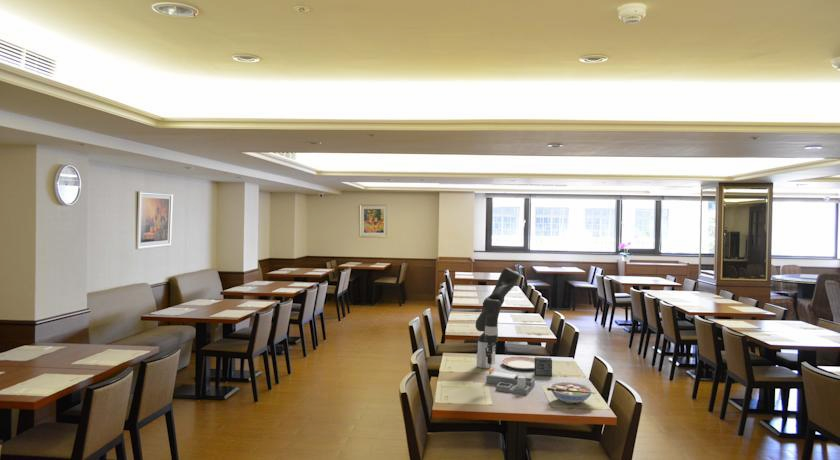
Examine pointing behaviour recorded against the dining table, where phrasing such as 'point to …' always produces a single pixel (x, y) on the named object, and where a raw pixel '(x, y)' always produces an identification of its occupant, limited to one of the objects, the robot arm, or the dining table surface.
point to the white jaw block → (492, 359)
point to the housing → (512, 384)
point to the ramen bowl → (570, 391)
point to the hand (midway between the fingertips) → (490, 362)
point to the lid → (501, 374)
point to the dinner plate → (519, 362)
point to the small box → (543, 366)
